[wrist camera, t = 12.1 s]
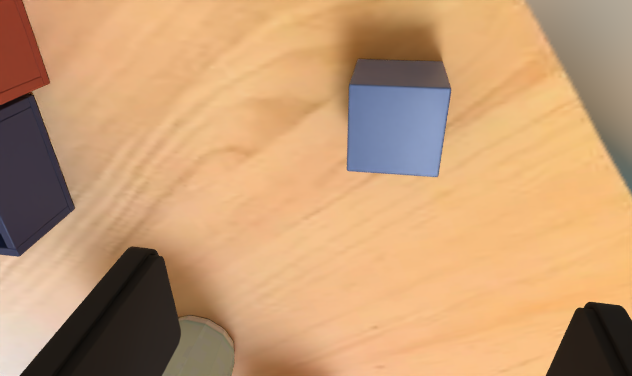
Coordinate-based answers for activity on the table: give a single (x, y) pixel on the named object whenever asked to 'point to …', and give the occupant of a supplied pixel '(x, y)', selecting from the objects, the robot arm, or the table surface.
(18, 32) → the red bin
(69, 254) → the table surface
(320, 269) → the table surface
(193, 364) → the disposable coffee cup
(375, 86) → the blue block
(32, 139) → the blue bin
